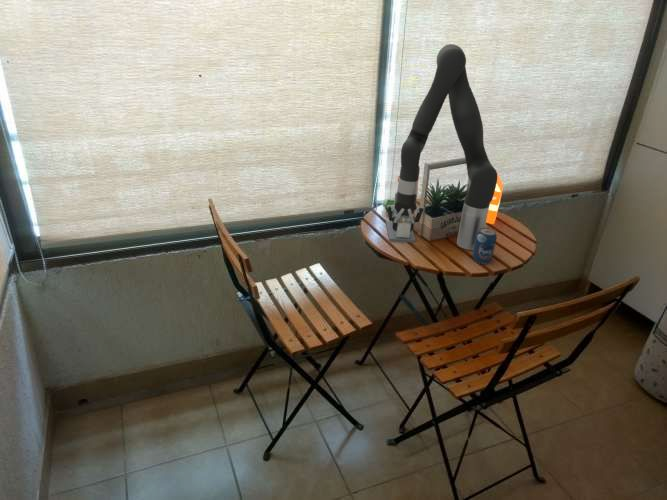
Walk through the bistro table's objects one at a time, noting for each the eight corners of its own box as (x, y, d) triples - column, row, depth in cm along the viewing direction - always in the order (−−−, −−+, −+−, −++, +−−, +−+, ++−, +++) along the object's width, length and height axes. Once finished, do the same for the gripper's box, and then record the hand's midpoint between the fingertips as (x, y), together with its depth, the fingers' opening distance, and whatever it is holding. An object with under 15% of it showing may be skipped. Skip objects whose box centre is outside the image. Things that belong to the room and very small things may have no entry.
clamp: (388, 224, 220) (380, 208, 215) (390, 216, 224) (383, 200, 220) (414, 220, 215) (407, 203, 210) (416, 212, 219) (410, 195, 214)
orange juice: (475, 220, 218) (484, 176, 209) (478, 213, 225) (487, 170, 216) (494, 224, 216) (504, 180, 206) (496, 216, 223) (506, 173, 213)
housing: (407, 231, 201) (409, 215, 197) (409, 237, 196) (411, 220, 193) (394, 231, 201) (396, 214, 197) (396, 237, 196) (398, 220, 193)
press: (409, 224, 211) (413, 193, 204) (414, 242, 197) (419, 209, 190) (385, 223, 211) (389, 192, 204) (389, 241, 197) (393, 208, 190)
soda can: (477, 265, 183) (484, 236, 177) (468, 256, 189) (474, 227, 183) (494, 264, 185) (501, 234, 179) (485, 255, 191) (491, 226, 185)
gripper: (424, 187, 193) (419, 227, 201) (387, 185, 193) (383, 225, 201) (428, 194, 187) (422, 235, 195) (389, 193, 186) (384, 234, 194)
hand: (402, 230), depth 198 cm, fingers open, 5 cm apart
